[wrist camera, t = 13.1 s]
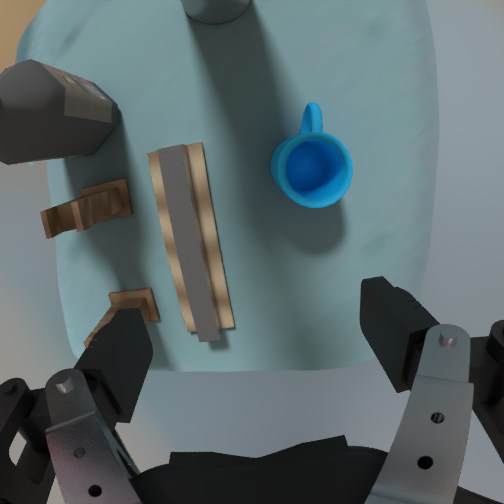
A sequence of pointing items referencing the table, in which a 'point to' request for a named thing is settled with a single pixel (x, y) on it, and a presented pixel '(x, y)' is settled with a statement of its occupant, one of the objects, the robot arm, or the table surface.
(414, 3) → the table surface
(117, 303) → the post
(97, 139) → the liquor
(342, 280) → the table surface
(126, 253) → the table surface
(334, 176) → the mug
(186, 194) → the rail
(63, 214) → the post
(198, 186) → the mat
